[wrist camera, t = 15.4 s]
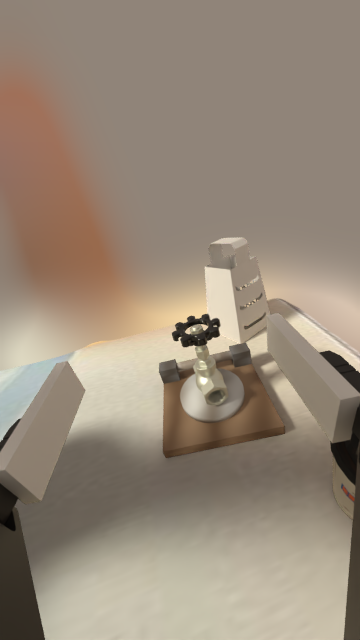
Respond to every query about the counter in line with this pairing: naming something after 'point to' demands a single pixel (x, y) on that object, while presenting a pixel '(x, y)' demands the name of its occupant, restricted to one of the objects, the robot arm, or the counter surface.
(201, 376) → the valve
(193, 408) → the shaft stand
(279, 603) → the counter surface
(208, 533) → the counter surface
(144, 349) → the counter surface
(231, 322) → the grater
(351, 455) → the coffee cup
